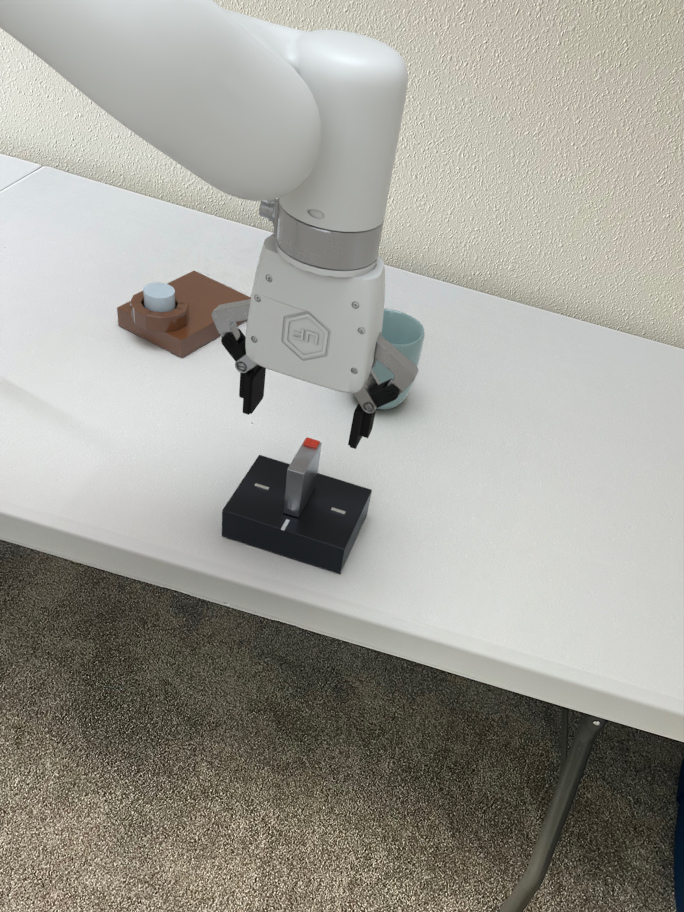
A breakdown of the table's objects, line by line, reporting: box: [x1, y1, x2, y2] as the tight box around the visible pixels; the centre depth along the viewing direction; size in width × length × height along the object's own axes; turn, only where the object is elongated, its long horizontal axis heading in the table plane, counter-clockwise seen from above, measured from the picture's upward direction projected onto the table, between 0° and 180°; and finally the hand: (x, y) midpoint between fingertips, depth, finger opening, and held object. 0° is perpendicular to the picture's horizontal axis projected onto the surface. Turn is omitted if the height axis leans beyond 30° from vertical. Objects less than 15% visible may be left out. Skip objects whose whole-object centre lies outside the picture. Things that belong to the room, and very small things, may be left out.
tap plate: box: [221, 454, 373, 575], centre depth 76 cm, size 12×9×4 cm
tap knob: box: [283, 436, 323, 518], centre depth 73 cm, size 5×2×6 cm, turn 166°
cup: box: [372, 308, 426, 410], centre depth 92 cm, size 8×8×10 cm
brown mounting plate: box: [116, 270, 251, 359], centre depth 98 cm, size 15×10×4 cm, turn 150°
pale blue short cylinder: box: [142, 281, 175, 312], centre depth 93 cm, size 4×4×2 cm
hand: (304, 422), depth 69 cm, fingers open, 9 cm apart
